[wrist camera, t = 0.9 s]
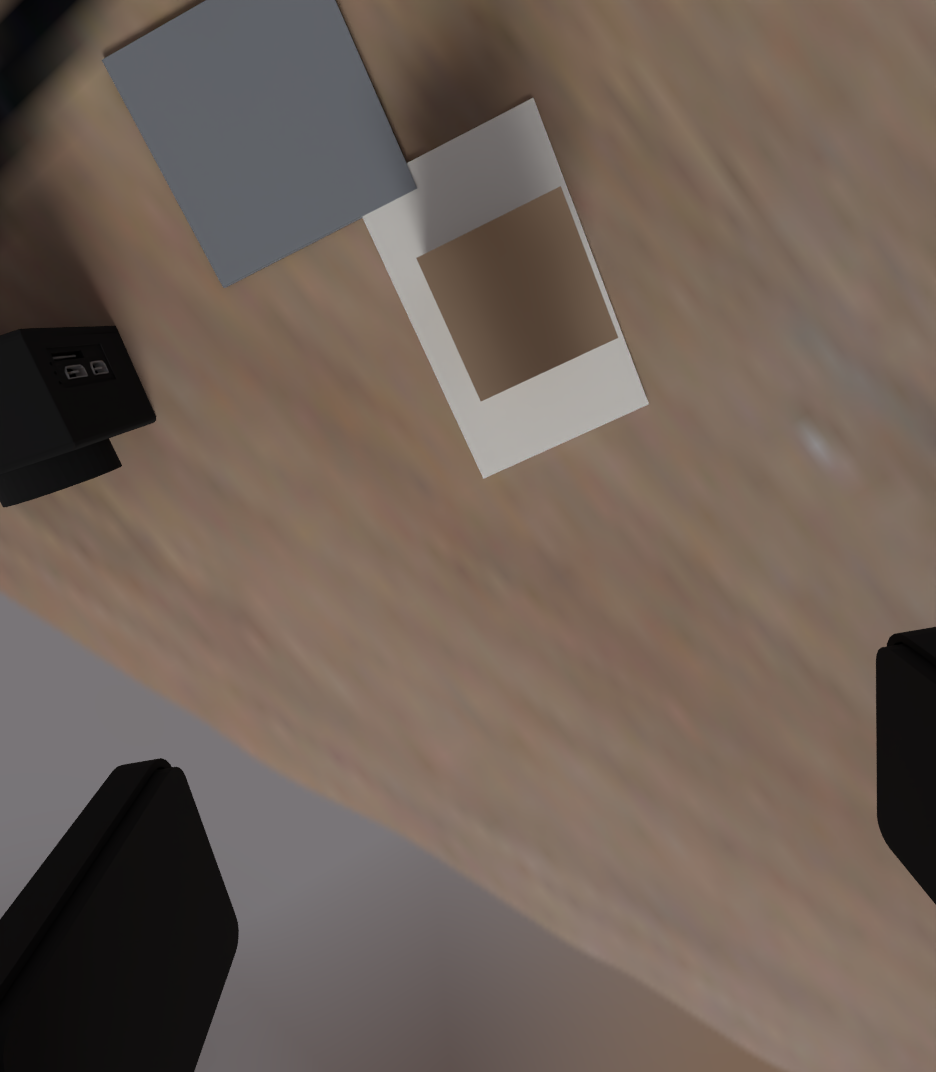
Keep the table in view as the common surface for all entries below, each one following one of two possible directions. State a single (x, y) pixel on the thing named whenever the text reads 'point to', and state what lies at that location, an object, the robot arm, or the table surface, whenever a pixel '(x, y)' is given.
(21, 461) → the digital camera
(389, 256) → the card
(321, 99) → the rubber mat
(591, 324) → the walnut block
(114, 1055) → the robot arm
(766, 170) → the table surface
